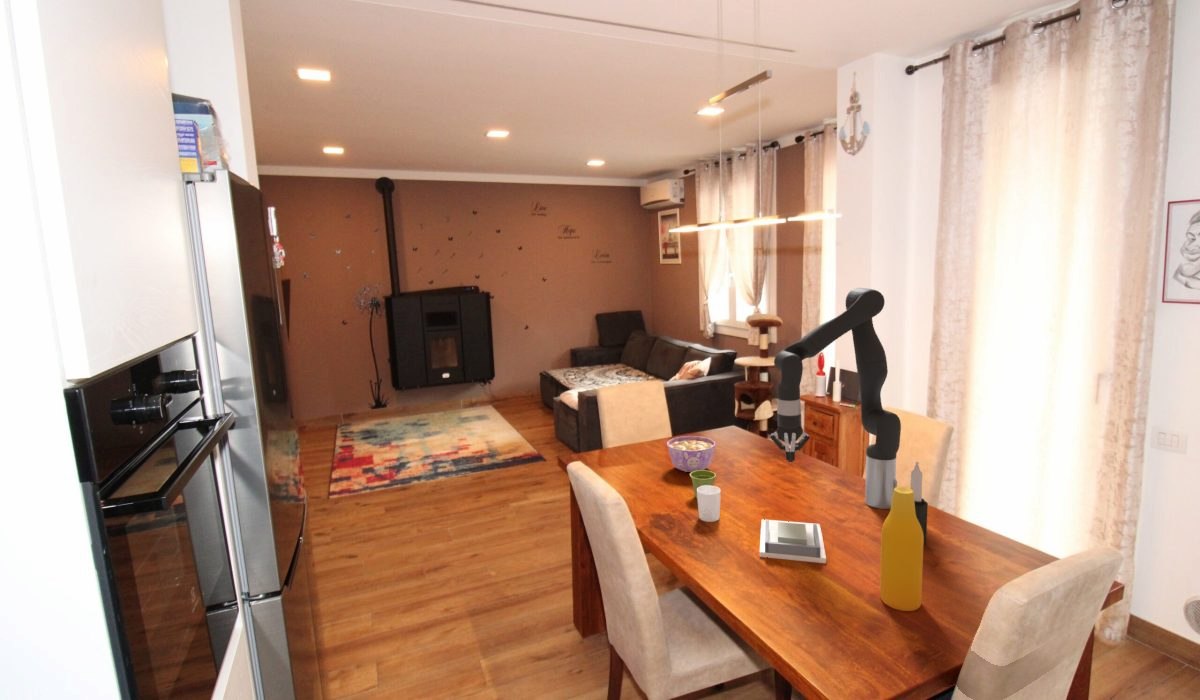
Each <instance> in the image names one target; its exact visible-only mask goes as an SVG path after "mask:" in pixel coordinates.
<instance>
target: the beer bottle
mask: <svg viewBox="0 0 1200 700" xmlns="http://www.w3.org/2000/svg"><path fill="white" fill-rule="evenodd" d="M910 488H911V487H906V486H905V487H904V486H897V487H896V488H894V492H893V498H892V504H891V508H890V509H889V513H888V515H887V517H886V518H885V519H884V521H883V524H882V526H881V527H882V528H881V533H880V534H881V535H880V538H881V541H880V546H881V547H880V574H879V575H880V577H879V580H880V582H879V597H880V599H881V601H882V602H883V604H885V605H886V606H888V607H890V608H891V609H895V610H897V611H902V612H913V611H914V612H915V611H916V610H918V609H919V608H921V605H922V602H923V590H922V589H923V566H924V565H923V564H924V561H923V560H924V545H923V543H924V536H923V531H922V528H921V526H920V523H919V521H918V519H917V517H916V513H915V503H914V493H913V490H912V489H910Z"/></svg>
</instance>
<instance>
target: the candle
mask: <svg viewBox="0 0 1200 700" xmlns="http://www.w3.org/2000/svg"><path fill="white" fill-rule="evenodd" d="M909 488H910V489H912V490H913V493H914V503H915V513H916V517H917V519H918V521H919V523H920V526H921V528H922V531H923V536H924V543H923V546H924V545H926V544H927V534H928V533H927V531H928V529H927V528H928V508H929V507H928V505H929V503H928V502H927V501H926V500H925V499H924V498H922V497H923V496H922V495H923V494H922V493H923V492H922V491H923V472H922V471H921V469H920V466H919V462H918V461H916V462H915V465H914V468H913V469H912V471H910V487H909Z"/></svg>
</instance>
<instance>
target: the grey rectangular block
mask: <svg viewBox="0 0 1200 700" xmlns="http://www.w3.org/2000/svg"><path fill="white" fill-rule="evenodd" d="M778 542H780V543H791V544H801V545H807V535H806V526H805V524H796V523H784V522H778Z"/></svg>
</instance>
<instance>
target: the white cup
mask: <svg viewBox="0 0 1200 700" xmlns="http://www.w3.org/2000/svg"><path fill="white" fill-rule="evenodd" d="M721 492H722V491H721V488H720V487H718V486H716V485H713V486H712V485H704V486H700V487H698V488H697V498H696V500H697V507H698V508H697V510H698V518H699V520H701V521H703V522H706V523H713V522H717V521H719V519H720V515H721V514H720V511H721V497H722V496H721Z"/></svg>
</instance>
